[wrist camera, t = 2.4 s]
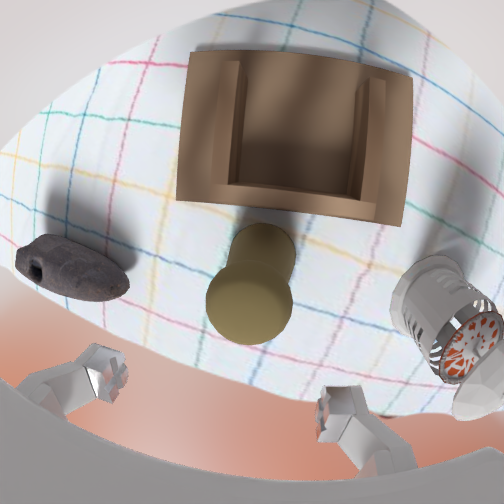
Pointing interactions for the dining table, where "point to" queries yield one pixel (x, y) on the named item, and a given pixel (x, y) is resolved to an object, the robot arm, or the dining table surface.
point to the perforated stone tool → (71, 269)
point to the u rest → (296, 134)
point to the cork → (253, 286)
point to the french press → (453, 333)
